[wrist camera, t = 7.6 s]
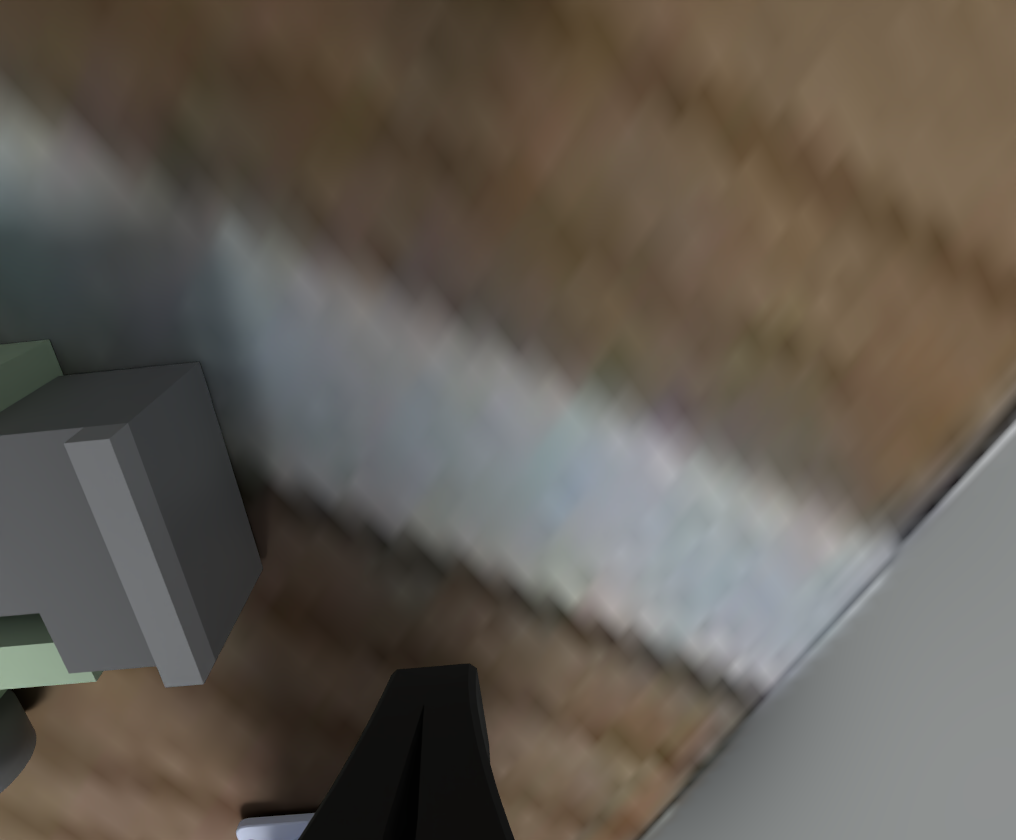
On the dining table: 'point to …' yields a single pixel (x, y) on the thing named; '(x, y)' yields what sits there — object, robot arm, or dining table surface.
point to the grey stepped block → (124, 521)
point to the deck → (24, 638)
